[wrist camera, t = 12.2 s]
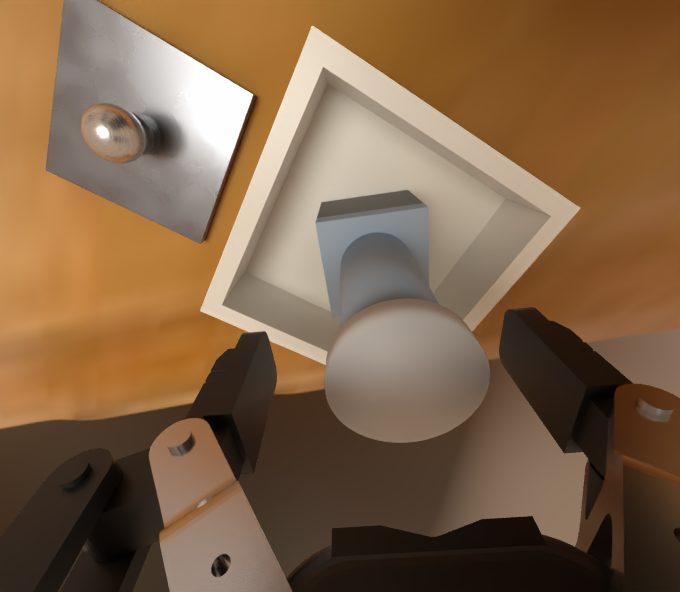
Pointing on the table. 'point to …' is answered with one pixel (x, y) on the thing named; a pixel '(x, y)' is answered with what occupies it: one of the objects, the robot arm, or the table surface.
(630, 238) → the table surface
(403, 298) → the knob
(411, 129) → the parts tray
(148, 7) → the table surface
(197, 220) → the stud mount
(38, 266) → the table surface
